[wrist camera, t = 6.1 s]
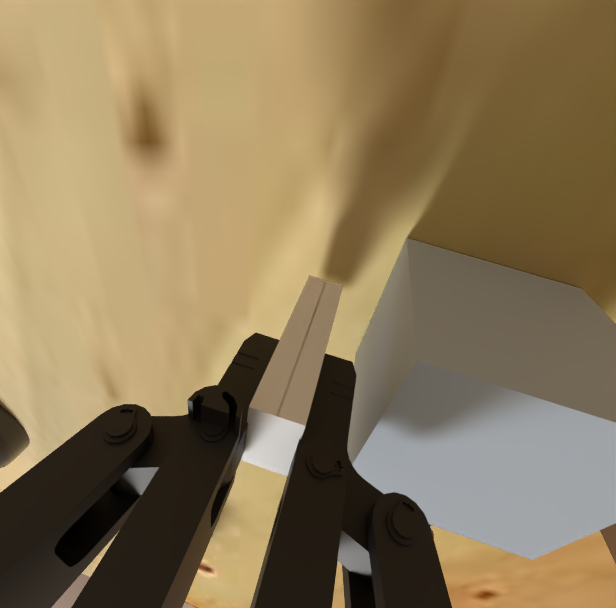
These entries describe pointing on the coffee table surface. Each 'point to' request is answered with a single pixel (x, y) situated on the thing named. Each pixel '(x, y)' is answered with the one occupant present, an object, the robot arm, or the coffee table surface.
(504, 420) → the block
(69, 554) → the robot arm
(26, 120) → the coffee table surface
